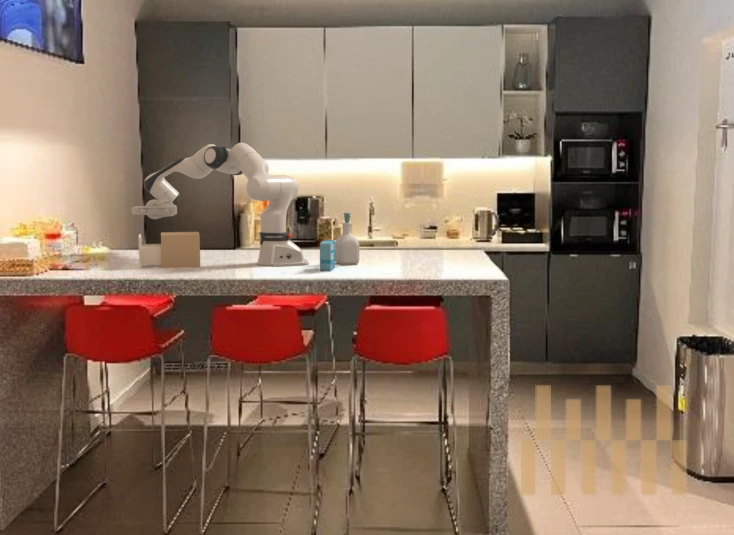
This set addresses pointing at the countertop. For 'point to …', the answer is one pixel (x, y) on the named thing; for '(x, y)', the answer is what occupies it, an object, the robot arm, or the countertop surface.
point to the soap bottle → (347, 245)
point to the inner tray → (149, 253)
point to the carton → (180, 249)
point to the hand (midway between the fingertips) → (154, 211)
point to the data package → (327, 255)
